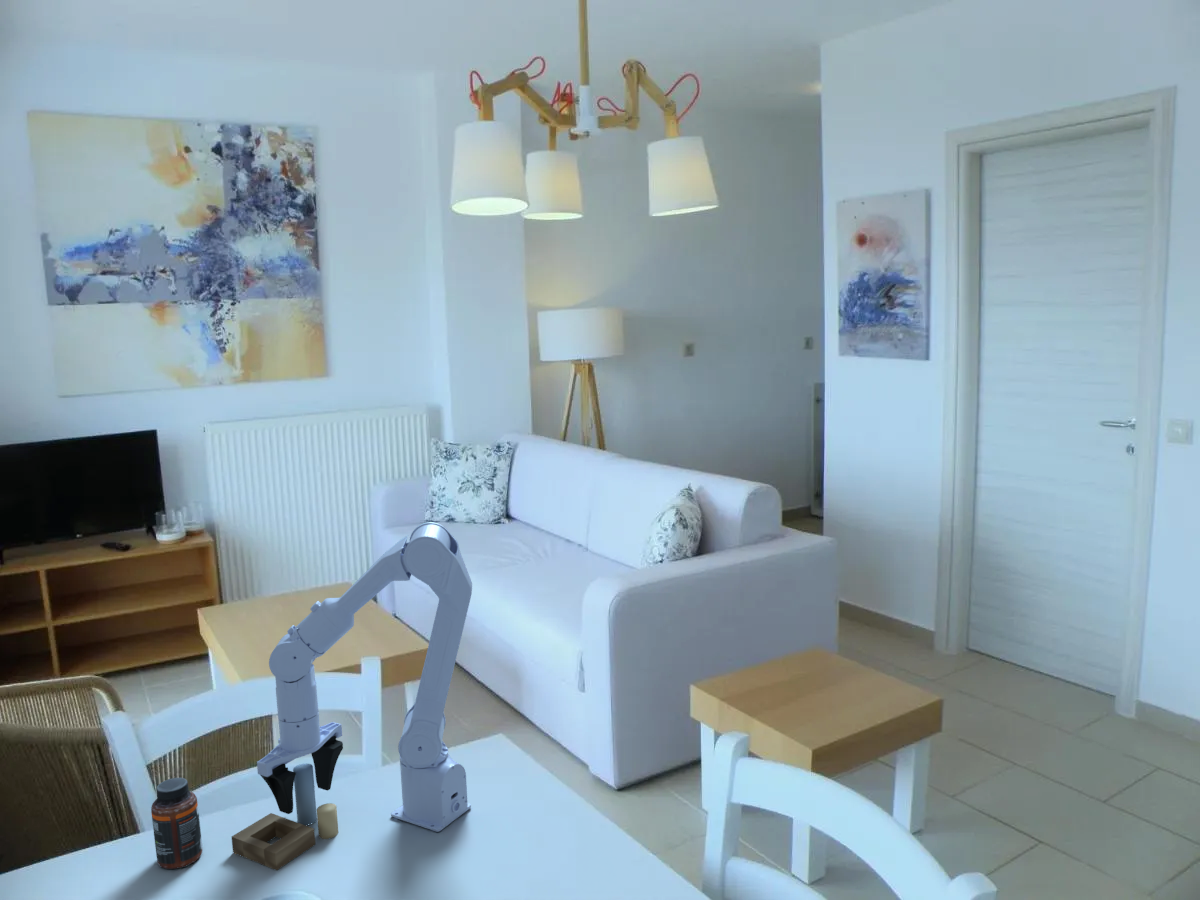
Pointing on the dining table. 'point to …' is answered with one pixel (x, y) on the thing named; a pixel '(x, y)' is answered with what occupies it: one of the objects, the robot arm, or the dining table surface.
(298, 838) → the block with square hole
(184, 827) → the supplement bottle
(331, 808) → the short dowel
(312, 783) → the long dowel
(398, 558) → the robot arm
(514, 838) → the dining table surface
